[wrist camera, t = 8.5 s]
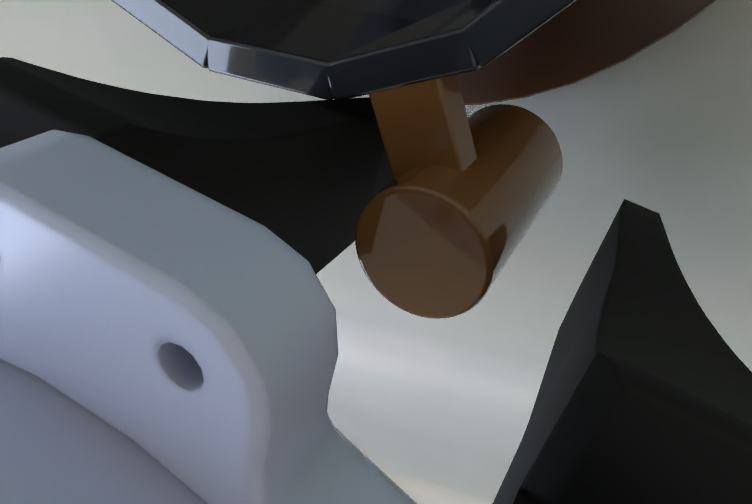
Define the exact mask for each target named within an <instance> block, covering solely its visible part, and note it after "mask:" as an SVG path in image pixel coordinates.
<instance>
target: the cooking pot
mask: <svg viewBox="0 0 752 504" xmlns="http://www.w3.org/2000/svg"><path fill="white" fill-rule="evenodd" d="M112 1H113V2H114V3H116V4H117V5H119V6H120V7H121V8H123V9H124V10H125V11H127V12H128V13H129V14H131V15H132V16H134V17H135V18H136V19H138V20H139V21H140V22H142V23H143V24H144V25H146V26H147V27H149V28H150V29H151V30H153V31H154V32H155V33H157V34H158V35H159V36H161V37H162V38H164V39H165V40H166V41H168V42H169V43H170V44H172V45H173V46H174V47H176V48H177V49H179V50H180V51H181V52H183V53H184V54H185V55H187V56H188V57H189V58H191V59H192V60H194V61H195V62H196V63H198V64H199V65H200V66H202V67H203V68H208V69H209V70H210V71H212V72H216V73H220V74H225V75H229V76H233V77H237V78H241V79H245V80H249V81H253V82H257V83H261V84H265V85H269V86H274V87H278V88H282V89H286V90H290V91H294V92H298V93H302V94H306V95H310V96H314V97H318V98H323V99H327V100H332V99H334V100H343V99H348V98H352V97H357V96H362V95H366V94H369V96H370V99H371V103H372V106H373V110H374V113H375V116H376V120H377V123H378V127H379V130H380V134H381V137H382V141H383V144H384V148H385V151H386V154H387V158H388V161H389V165H390V168H391V172H392V175H393V179H394V180H392V181H391V182H390V183H389V184H388V185H386V186H385V187H384V188H383V189H382V190H380V191H379V192H378V193H377V194H376V195H374V196H373V197H372V198H371V199H370V200H369V201H368V202H367V203H366V205H365V206H364V208H363V210H362V212H361V214H360V216H359V219H358V223H357V227H356V235H355V240H356V250H357V254H358V258H359V261H360V264H361V266H362V268H363V270H364V272H365V274H366V276H367V277H368V279H369V280H370V282H371V283H372V284H373V286H374V287H375V288H376V289H377V290H378V291H379V292H380V293H381V294H382V295H383V296H384V297H385V298H386V299H387V300H388V301H390V302H391V303H393V304H394V305H396V306H397V307H399V308H401V309H403V310H404V311H407V312H409V313H412V314H414V315H418V316H421V317H426V318H437V319H439V318H449V317H454V316H457V315H460V314H462V313H465V312H467V311H469V310H470V309H472V308H473V307H474V306H476V305H477V304H478V303H479V302H480V301H481V300H482V299H483V297H484V296H485V294H486V293H487V291H488V290H489V288H490V287H491V285H492V284H493V282H494V281H495V279H496V278H497V276H498V275H499V273H500V272H501V270H502V269H503V267H504V266H505V264H506V263H507V261H508V260H509V258H510V257H511V255H512V253H513V252H514V250H515V249H516V247H517V246H518V244H519V243H520V241H521V240H522V238H523V237H524V235H525V234H526V232H527V231H528V229H529V228H530V226H531V225H532V223H533V222H534V220H535V219H536V217H537V216H538V214H539V213H540V211H541V210H542V208H543V207H544V205H545V203H546V202H547V200H548V199H549V197H550V196H551V194H552V193H553V191H554V190H555V188H556V186H557V184H558V182H559V180H560V176H561V172H562V153H561V149H560V145H559V143H558V141H557V138H556V136H555V135H554V133H553V131H552V130H551V129H550V127H549V126H548V125H547V124H546V123H545V122H544V121H543V120H542V119H541V118H539V117H538V116H537V115H535V114H534V113H532V112H530V111H528V110H526V109H524V108H521V107H517V106H513V105H492V106H488V107H485V108H482V109H480V110H478V111H476V112H475V113H473V114H472V115H470V116H469V117H468V118H467V114H466V109H465V105H464V101H463V97H462V93H461V88H460V84H459V80H458V76H457V75H459V74H464V73H469V72H473V71H476V70H477V69H479V68H480V67H484V66H487V65H488V64H490V63H491V62H493V61H494V60H496V59H497V58H498V57H500V56H501V55H503V54H504V53H505V52H507V51H508V50H510V49H511V48H513V47H514V46H515V45H517V44H518V43H520V42H521V41H522V40H524V39H525V38H527V37H528V36H530V35H531V34H532V33H534V32H535V31H537V30H538V29H539V28H541V27H542V26H544V25H545V24H547V23H548V22H549V21H551V20H552V19H554V18H555V17H556V16H558V15H559V14H561V13H562V12H563V11H565V10H566V9H568V8H569V7H570V6H572V5H573V4H574V3H576V2H577V1H579V0H112Z"/></svg>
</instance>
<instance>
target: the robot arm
mask: <svg viewBox="0 0 752 504" xmlns="http://www.w3.org/2000/svg"><path fill="white" fill-rule="evenodd" d="M392 180H394V179H393V175H392V172H391V168H390V165H389V161H388V158H387V154H386V151H385V148H384V144H383V141H382V137H381V134H380V130H379V127H378V123H377V120H376V116H375V113H374V110H373V106H372V103H371V99H370V98H349V99H343V100H320V101H306V102H280V103H231V102H214V101H202V100H194V99H186V98H179V97H171V96H163V95H156V94H150V93H144V92H139V91H134V90H129V89H123V88H119V87H114V86H110V85H106V84H101V83H97V82H93V81H89V80H85V79H81V78H77V77H74V76H70V75H67V74H63V73H60V72H56V71H53V70H50V69H46V68H43V67H39V66H36V65H33V64H29V63H26V62H23V61H20V60H17V59H14V58H5V57H2V58H0V504H417V503H416V502H414V501H413V500H412V499H411V498H410V497H409V496H408V495H407V494H406V493H405V492H404V491H403V490H402V489H401V488H400V487H398V486H397V485H396V484H395V483H394V482H393V481H392V480H391V479H390V478H389V477H388V476H387V475H386V474H385V473H384V472H382V471H381V470H380V469H379V468H378V467H377V466H376V465H375V464H374V463H373V462H372V461H371V460H370V459H369V458H368V457H366V456H365V455H364V454H363V453H362V452H361V451H360V450H359V449H358V448H357V447H356V446H355V445H354V444H353V443H352V442H350V441H349V440H348V439H347V438H346V437H345V436H344V435H343V434H342V433H341V432H340V431H339V430H338V429H337V428H336V427H334V425H333V423H332V421H331V420H330V418H329V416H328V413H327V405H328V393H329V389H330V385H331V381H332V377H333V373H334V369H335V365H336V361H337V357H338V342H337V326H336V310H335V308H334V306H333V304H332V302H331V300H330V299H329V297H328V295H327V293H326V292H325V290H324V288H323V286H322V285H321V283H320V281H319V279H318V277H317V276H316V274H317V273H318V272H319V271H320V270H321V269H323V268H324V267H325V266H326V265H327V264H328V263H330V262H331V261H332V260H333V259H334V258H335V257H337V256H338V255H339V254H340V253H341V252H342V251H344V250H345V249H346V248H347V247H348V246H349V245H350V244H352V243H353V242H354V241H355V235H356V227H357V223H358V219H359V216H360V214H361V212H362V210H363V208H364V206H365V205H366V203H367V202H368V201H369V200H370V199H371V198H372V197H373V196H374V195H376V194H377V193H378V192H379V191H380V190H382V189H383V188H384V187H385V186H386V185H388V184H389V183H390V182H391V181H392ZM493 504H752V372H751V371H750V370H749V369H748V368H747V367H746V366H745V365H744V363H743V362H742V361H741V360H740V359H739V358H738V357H737V356H736V355H735V353H734V352H733V351H732V350H731V349H730V347H729V346H728V345H727V344H726V343H725V341H724V340H723V339H722V337H721V336H720V334H719V333H718V332H717V330H716V329H715V328H714V326H713V325H712V323H711V322H710V321H709V319H708V318H707V317H706V315H705V313H704V312H703V310H702V309H701V307H700V306H699V304H698V302H697V300H696V299H695V297H694V295H693V293H692V291H691V290H690V288H689V286H688V284H687V282H686V280H685V278H684V276H683V274H682V272H681V270H680V268H679V266H678V263H677V261H676V259H675V256H674V254H673V251H672V249H671V246H670V243H669V240H668V237H667V234H666V231H665V228H664V225H663V223H662V220H661V217H660V214H659V213H656V212H654V211H652V210H649V209H647V208H645V207H642V206H640V205H637V204H635V203H633V202H630V201H628V200H625V199H624V201H623V203H622V205H621V206H620V208H619V210H618V212H617V214H616V216H615V218H614V220H613V222H612V224H611V226H610V228H609V230H608V232H607V234H606V236H605V238H604V240H603V242H602V244H601V246H600V248H599V250H598V252H597V254H596V255H595V257H594V259H593V261H592V263H591V265H590V267H589V269H588V271H587V273H586V275H585V277H584V279H583V281H582V283H581V285H580V287H579V289H578V291H577V293H576V295H575V297H574V299H573V301H572V303H571V305H570V307H569V310H568V312H567V314H566V316H565V318H564V320H563V322H562V324H561V326H560V328H559V331H558V334H557V337H556V340H555V343H554V346H553V349H552V352H551V355H550V358H549V361H548V365H547V368H546V371H545V374H544V377H543V380H542V383H541V386H540V389H539V392H538V396H537V399H536V402H535V405H534V408H533V411H532V414H531V417H530V420H529V423H528V425H527V428H526V431H525V433H524V436H523V439H522V441H521V443H520V445H519V448H518V450H517V452H516V454H515V456H514V458H513V461H512V463H511V465H510V467H509V469H508V472H507V474H506V476H505V478H504V480H503V482H502V485H501V487H500V489H499V491H498V493H497V495H496V498H495V500H494V502H493Z"/></svg>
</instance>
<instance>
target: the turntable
mask: <svg viewBox="0 0 752 504" xmlns="http://www.w3.org/2000/svg"><path fill="white" fill-rule="evenodd" d="M714 1H716V0H579V1H577V2H576V3H574V4H573V5H572V6H570V7H569V8H568V9H566V10H565V11H563V12H562V13H561V14H559V15H558V16H556V17H555V18H554V19H552V20H551V21H549V22H548V23H547V24H545V25H544V26H542V27H541V28H539V29H538V30H537V31H535V32H534V33H532V34H531V35H530V36H528V37H527V38H525V39H524V40H522V41H521V42H520V43H518V44H517V45H515V46H514V47H513V48H511V49H510V50H508V51H507V52H505V53H504V54H503V55H501V56H500V57H498V58H497V59H496V60H494V61H493V62H491V63H490V64H488V65H487V66H484V67H480V68H479V69H477V70H476V71H473V72H469V73H464V74H459V75H457V76H458V80H459V84H460V88H461V93H462V97H463V101H464V105H481V104H487V103H493V102H500V101H506V100H513V99H519V98H525V97H529V96H532V95H536V94H539V93H543V92H546V91H549V90H553V89H556V88H559V87H563V86H566V85H570V84H573V83H576V82H578V81H580V80H583V79H585V78H587V77H589V76H592V75H594V74H596V73H598V72H601V71H603V70H605V69H607V68H610V67H612V66H614V65H616V64H619V63H621V62H623V61H625V60H627V59H629V58H631V57H632V56H634V55H636V54H637V53H639V52H641V51H642V50H644V49H646V48H647V47H649V46H651V45H652V44H654V43H656V42H657V41H659V40H661V39H662V38H664V37H666V36H667V35H669V34H671V33H672V32H674V31H676V30H678V29H679V28H680V27H682V26H683V25H684V24H686V23H687V22H688V21H689V20H691V19H692V18H693V17H695V16H696V15H697V14H699V13H700V12H701V11H703V10H704V9H705V8H706V7H708V6H709V5H710V4H712V3H713V2H714Z"/></svg>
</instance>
